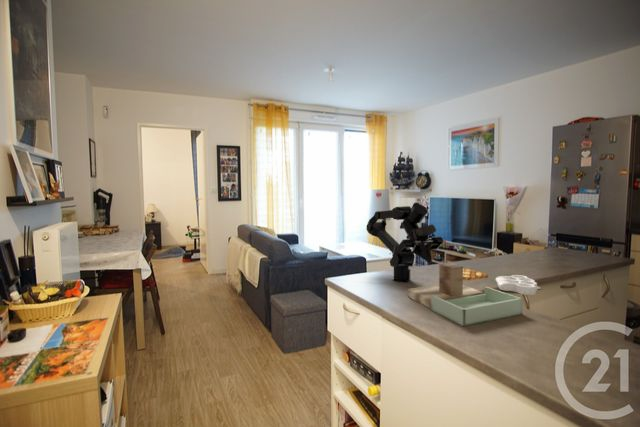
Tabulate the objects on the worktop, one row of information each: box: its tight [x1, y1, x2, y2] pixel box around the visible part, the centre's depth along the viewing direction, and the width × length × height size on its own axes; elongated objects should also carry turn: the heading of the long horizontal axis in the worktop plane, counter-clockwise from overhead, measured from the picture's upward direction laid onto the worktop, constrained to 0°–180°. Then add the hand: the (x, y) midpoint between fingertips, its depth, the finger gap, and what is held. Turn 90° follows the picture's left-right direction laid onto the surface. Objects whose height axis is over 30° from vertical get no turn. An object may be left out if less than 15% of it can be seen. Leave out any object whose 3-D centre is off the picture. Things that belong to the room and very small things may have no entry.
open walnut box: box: [438, 262, 464, 296], centre depth 117 cm, size 6×5×10 cm
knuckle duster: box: [495, 274, 542, 296], centre depth 131 cm, size 3×18×15 cm
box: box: [430, 286, 523, 327], centre depth 107 cm, size 14×24×5 cm, turn 111°
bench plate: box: [407, 283, 484, 309], centre depth 120 cm, size 14×22×3 cm, turn 111°
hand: (430, 262), depth 127 cm, fingers closed
